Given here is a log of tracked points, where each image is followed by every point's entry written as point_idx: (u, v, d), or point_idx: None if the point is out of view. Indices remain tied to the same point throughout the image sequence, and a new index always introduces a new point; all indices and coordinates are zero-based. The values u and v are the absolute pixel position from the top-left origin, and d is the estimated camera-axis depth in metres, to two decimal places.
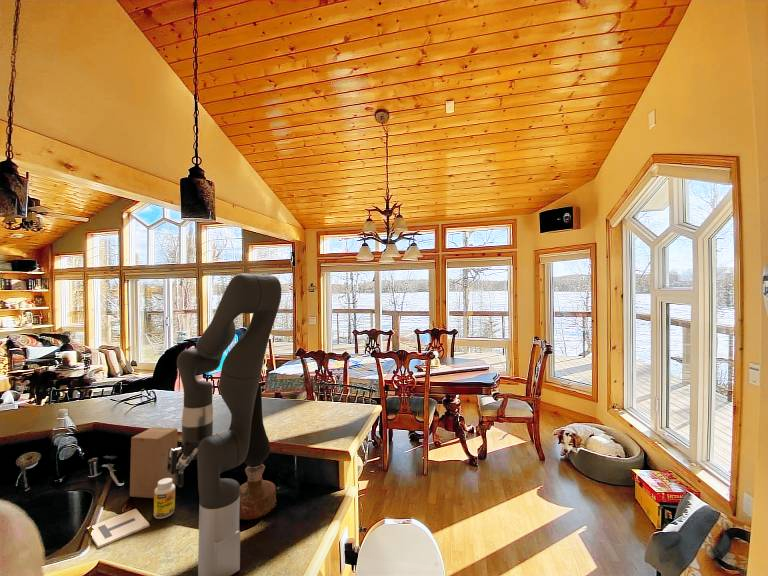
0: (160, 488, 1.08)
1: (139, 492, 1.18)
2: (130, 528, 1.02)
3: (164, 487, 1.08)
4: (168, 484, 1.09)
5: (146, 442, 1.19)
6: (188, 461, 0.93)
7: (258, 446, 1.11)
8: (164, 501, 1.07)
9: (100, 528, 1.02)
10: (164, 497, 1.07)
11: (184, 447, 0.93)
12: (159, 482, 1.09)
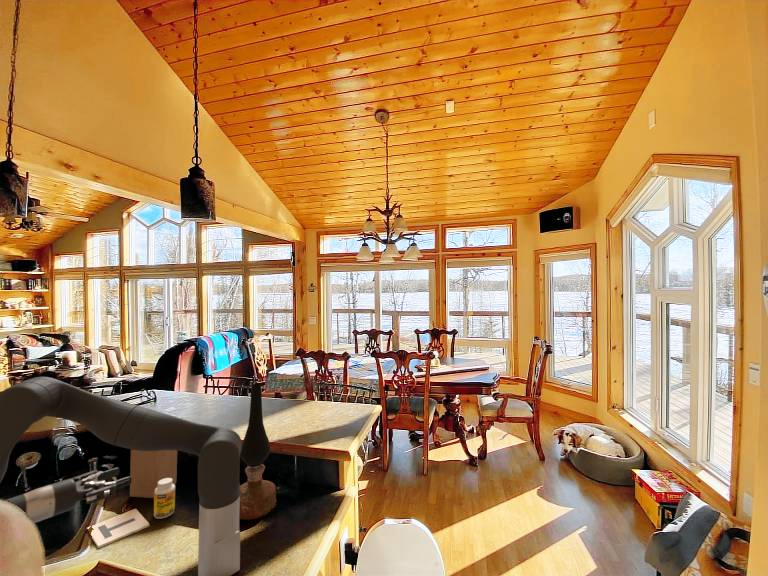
0: (160, 488, 1.08)
1: (139, 492, 1.18)
2: (130, 528, 1.02)
3: (164, 487, 1.08)
4: (168, 484, 1.09)
5: None
6: (100, 482, 0.94)
7: (258, 446, 1.11)
8: (164, 501, 1.07)
9: (100, 528, 1.02)
10: (164, 497, 1.07)
11: (83, 492, 0.90)
12: (159, 482, 1.09)
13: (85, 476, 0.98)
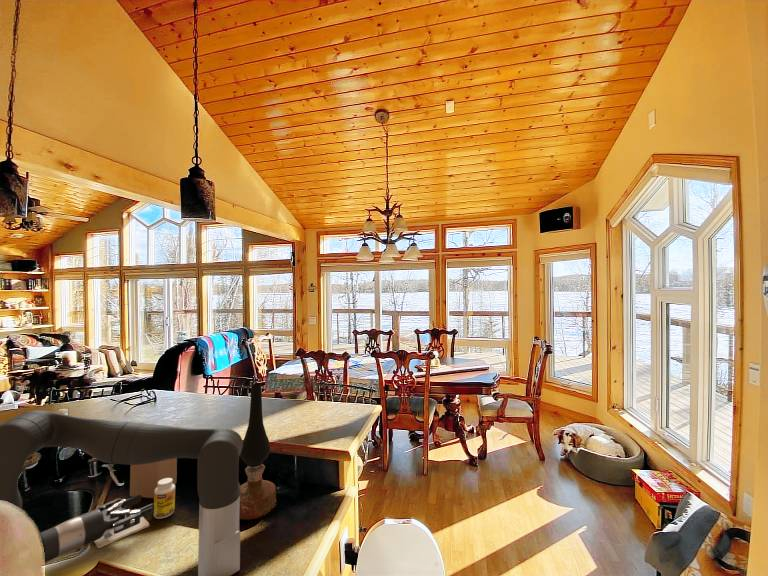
0: (160, 488, 1.08)
1: (139, 492, 1.18)
2: (130, 528, 1.02)
3: (164, 487, 1.08)
4: (168, 484, 1.09)
5: None
6: (126, 510, 0.98)
7: (258, 446, 1.11)
8: (164, 501, 1.07)
9: None
10: (164, 497, 1.07)
11: (110, 522, 0.95)
12: (159, 482, 1.09)
13: (109, 504, 1.03)
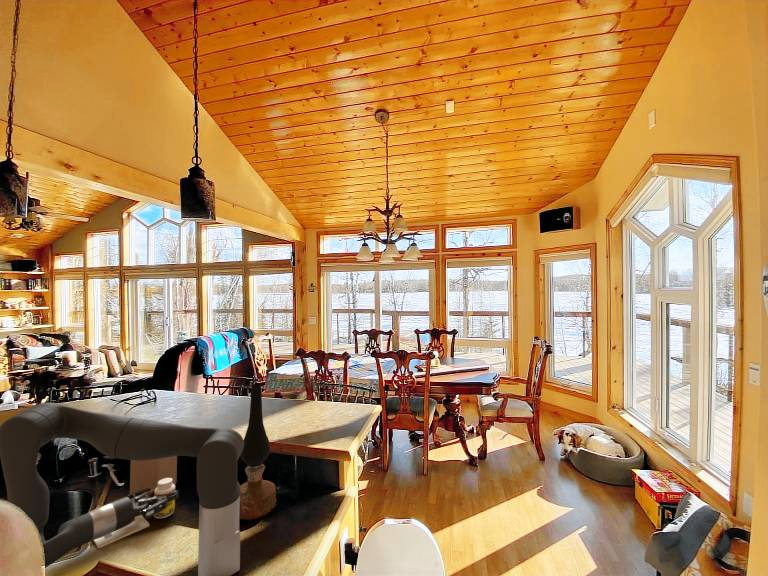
0: (160, 488, 1.08)
1: None
2: (130, 528, 1.02)
3: (164, 487, 1.08)
4: (168, 484, 1.09)
5: None
6: (153, 497, 1.05)
7: (258, 446, 1.11)
8: None
9: None
10: None
11: (140, 508, 1.01)
12: (159, 482, 1.09)
13: (139, 493, 1.08)
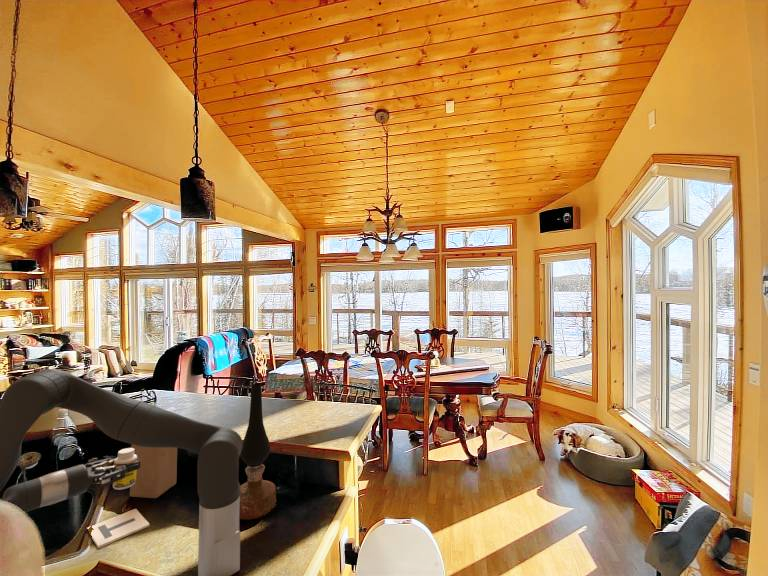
0: (120, 457, 1.02)
1: (139, 492, 1.18)
2: (130, 528, 1.02)
3: (124, 457, 1.02)
4: (129, 453, 1.03)
5: None
6: (111, 466, 0.99)
7: (258, 446, 1.11)
8: None
9: (100, 528, 1.02)
10: None
11: (96, 476, 0.95)
12: (119, 451, 1.03)
13: (98, 463, 1.03)
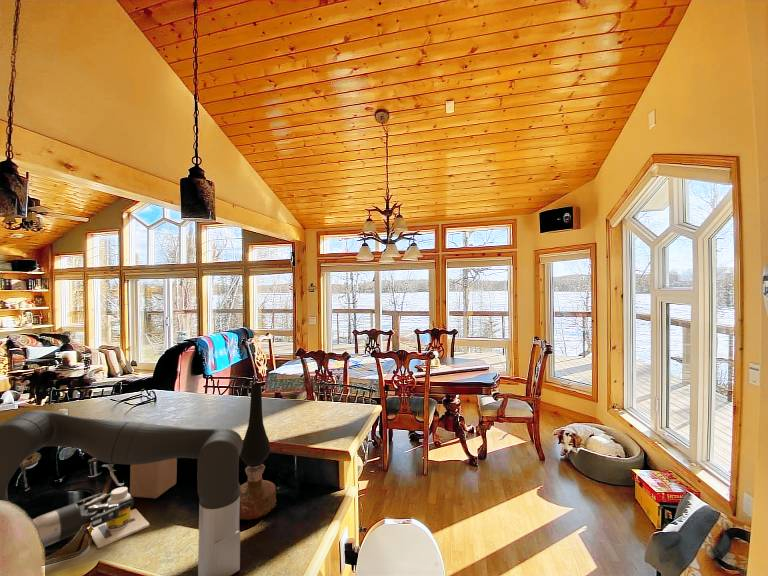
0: (113, 498, 1.01)
1: (139, 492, 1.18)
2: (130, 528, 1.02)
3: (117, 497, 1.01)
4: (122, 494, 1.02)
5: None
6: (104, 505, 0.98)
7: (258, 446, 1.11)
8: None
9: (100, 528, 1.02)
10: None
11: (88, 516, 0.94)
12: (112, 492, 1.02)
13: (90, 499, 1.02)
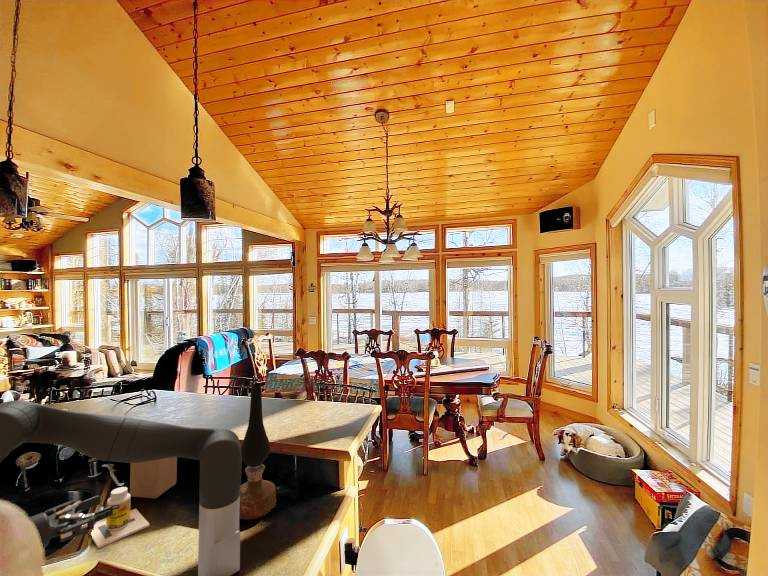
0: (113, 498, 1.01)
1: (139, 492, 1.18)
2: (130, 528, 1.02)
3: (117, 497, 1.01)
4: (122, 494, 1.02)
5: None
6: (77, 514, 0.84)
7: (258, 446, 1.11)
8: (117, 512, 1.01)
9: (100, 528, 1.02)
10: (117, 508, 1.01)
11: (57, 528, 0.81)
12: (112, 492, 1.02)
13: (61, 507, 0.89)
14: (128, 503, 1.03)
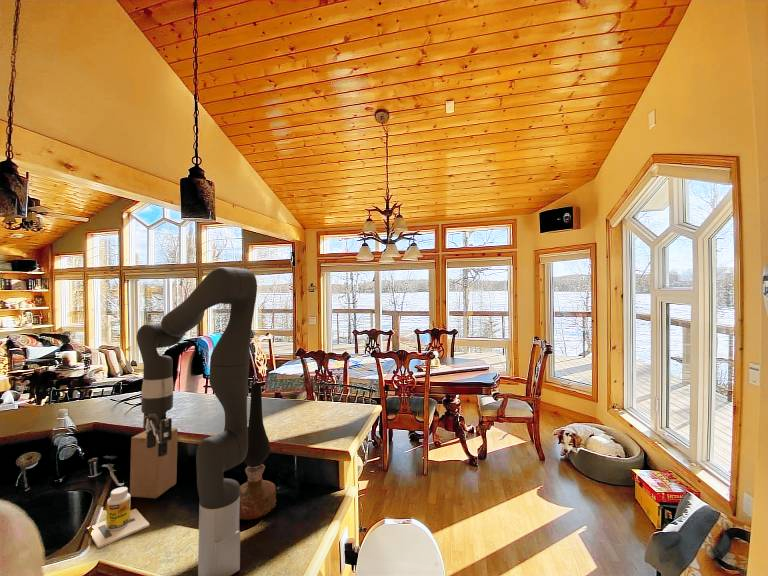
0: (113, 498, 1.01)
1: (139, 492, 1.18)
2: (130, 528, 1.02)
3: (117, 497, 1.01)
4: (122, 494, 1.02)
5: None
6: None
7: (258, 446, 1.11)
8: (117, 512, 1.01)
9: (100, 528, 1.02)
10: (117, 508, 1.01)
11: (165, 416, 0.98)
12: (112, 492, 1.02)
13: None
14: (128, 503, 1.03)
